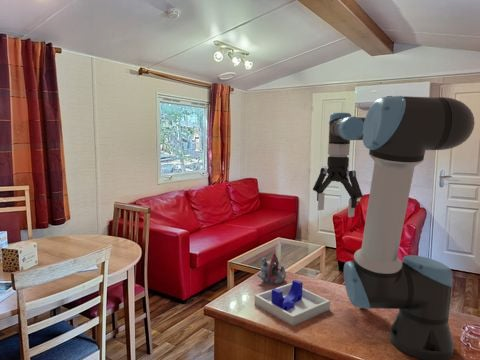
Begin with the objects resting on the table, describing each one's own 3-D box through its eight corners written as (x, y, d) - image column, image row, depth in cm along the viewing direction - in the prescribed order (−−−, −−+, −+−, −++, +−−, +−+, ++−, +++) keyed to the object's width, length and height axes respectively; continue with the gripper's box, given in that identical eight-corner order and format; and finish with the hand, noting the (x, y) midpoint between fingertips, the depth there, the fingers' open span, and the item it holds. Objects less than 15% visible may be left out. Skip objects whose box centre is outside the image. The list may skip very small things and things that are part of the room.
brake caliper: (286, 283, 127) (267, 254, 129) (262, 296, 131) (245, 268, 133) (294, 272, 137) (277, 245, 139) (272, 284, 142) (256, 258, 143)
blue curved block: (282, 313, 108) (282, 294, 108) (271, 307, 112) (271, 289, 111) (305, 301, 117) (306, 283, 116) (294, 296, 120) (295, 279, 119)
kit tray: (329, 309, 113) (330, 300, 112) (292, 326, 102) (292, 316, 102) (291, 290, 126) (291, 282, 126) (254, 303, 116) (254, 295, 115)
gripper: (375, 157, 121) (371, 218, 124) (318, 154, 141) (315, 206, 143) (362, 158, 117) (358, 221, 119) (305, 154, 136) (303, 208, 139)
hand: (335, 213), depth 131 cm, fingers open, 13 cm apart
